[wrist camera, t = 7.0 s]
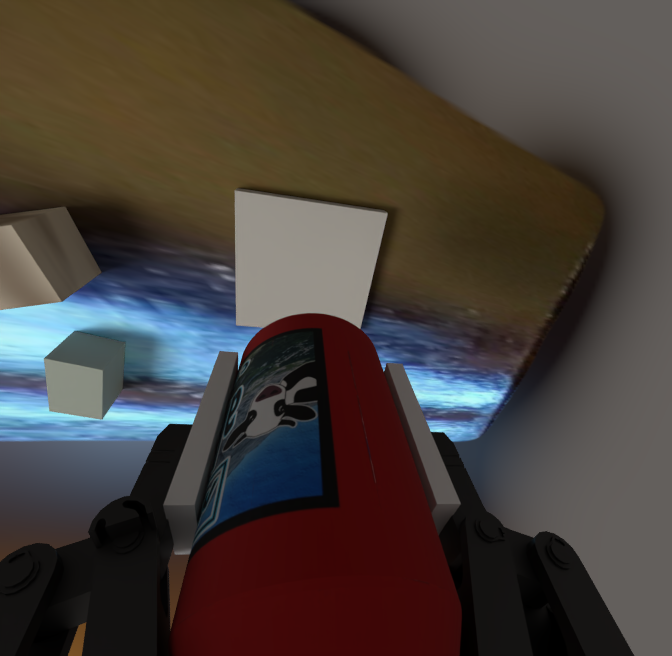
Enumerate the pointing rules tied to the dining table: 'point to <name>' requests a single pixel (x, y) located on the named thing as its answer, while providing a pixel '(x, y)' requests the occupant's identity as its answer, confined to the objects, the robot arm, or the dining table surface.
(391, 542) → the beverage can
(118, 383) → the sage block
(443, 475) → the robot arm
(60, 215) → the beech block
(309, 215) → the plate
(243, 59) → the dining table surface
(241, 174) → the dining table surface
